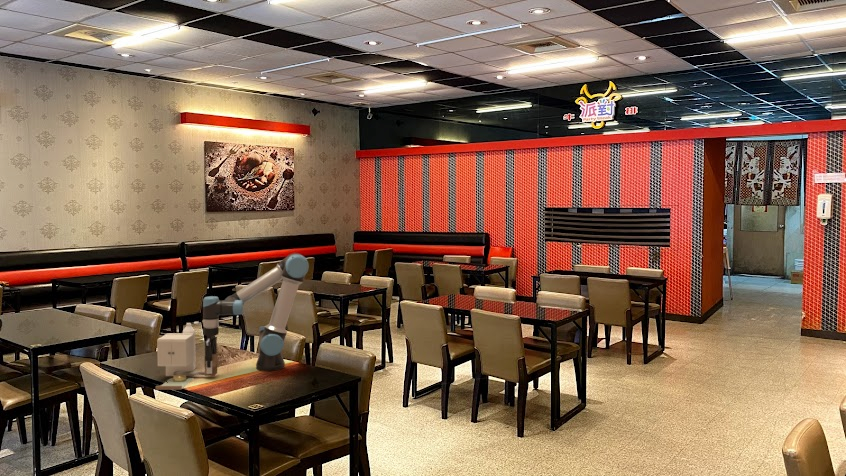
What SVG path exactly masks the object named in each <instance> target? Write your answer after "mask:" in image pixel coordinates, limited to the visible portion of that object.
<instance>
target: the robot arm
mask: <svg viewBox="0 0 846 476" xmlns="http://www.w3.org/2000/svg"><path fill="white" fill-rule="evenodd" d="M309 267H310V264H309V260H308V259H307V257H305V256H304V255H302V254H301V253H298V252H293V253H290V254H288V255H287V256H285V258H283V259H282V260H281V261H279V262H277V264H276V266H274V267H273V268H272V269H270V270H268V271H267V272H266V273H264V274H262V275H261V276H259V277H258V278H256V279H255V280H253V281H251V282H250V283H249V284H247V285H246V286H244V287H243V288H241V289H239V290H238V291H236V292H235V293H233V294H232V295H229V296H227V297H226V298H225V299H224V300H221V299H219V297H218V296H215V295H214V296H213V295H211V296H205V297H203V299H202V300H203V301H202V321H201V322H202V324H203V329H202V332H203V333H202V334H203V335H204V336H205V337H206V339H205V341H204V362H205V361H206V374H212V354H217V355H218V353H217V352H218V349H217V348H218V347H217V344H218V343H217V340H218V336H217V335H219V330H220V328H219V326H220V321H219V316H228V315H229V316H238V315H243V313H244V311H243V310H244V309H243V308H244V307H243V306H244V305H245V304H246V303H248V302H249V301H251V300H253V299H254V298H256V297H257V296H259V295H260V294H262V293H264V292H265V291H266V290H268V289H270V288H271V287H273V286H274V285H277V284H278V283H279V282H281V281H282V282H281V286H280V289H279V293H278V296H277V298H276V302H275V305H274V307H273V311H272V313H271V316H270V321H269V322H268V323H267V324H266V325H261V326H259V329H258V330H259V331H258V334H259V335H258V336H259V337H258V338H259V345H258V347H259V349H258V350H259V353H258V358H257V361H256V363H255V369H256V370H258V371H262V372H274V371H281V370H282V368H283V369H285V366H286V364H285V360H284V356H283V354H282V351H283V349H284V348H285V347H284V346H285V343H284V342H285V339H286V336H287V333H288V332H287V329H286V326H287V323H288V321H289V316H290V315H291V311H292V308H293V304H294V301H295V299H296V295H297V292H298V289H299V286H300V285H301V284H303V283H304V280H305V278H306V274H307V273H308V272H309Z"/></svg>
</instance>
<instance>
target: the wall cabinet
mask: <svg viewBox="0 0 846 476" xmlns="http://www.w3.org/2000/svg"><path fill="white" fill-rule="evenodd" d="M156 341H157V342H156V346H157V348H156V349H157V352H156V354H157V367H165V377H173V376H174V372H175V371H195V369H194V333H183V332H181V333H179V332H176V333H175V332H173V333H165V334H164V335H163V336H160V337H159V338H157V340H156ZM194 376H195V375H186V377H194Z"/></svg>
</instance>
